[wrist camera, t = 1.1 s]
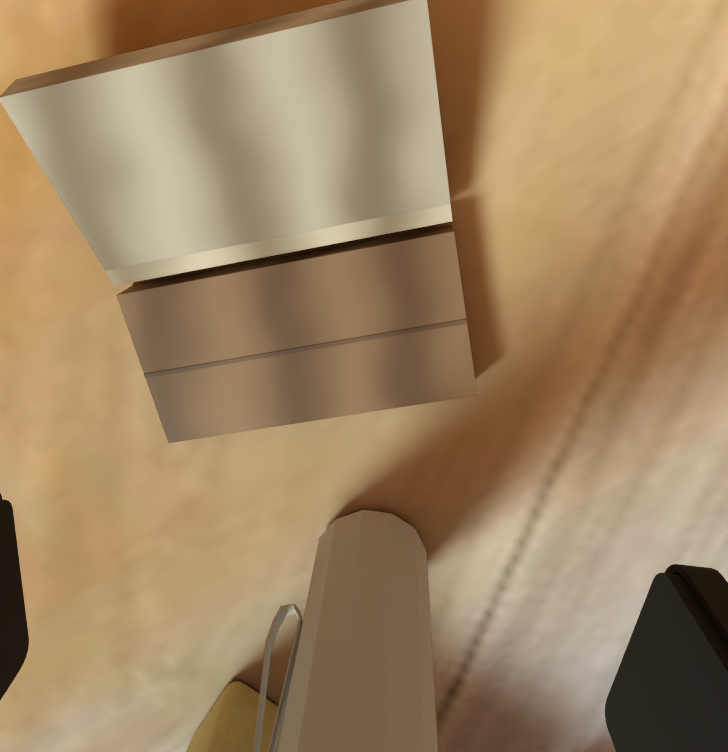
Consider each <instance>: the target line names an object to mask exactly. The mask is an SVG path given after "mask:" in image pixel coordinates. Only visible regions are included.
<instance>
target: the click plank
mask: <svg viewBox="0 0 728 752" xmlns="http://www.w3.org/2000/svg"><path fill="white" fill-rule="evenodd" d="M0 102H1V103H2V105H3V107H4V108H5V110H6V112H7V113H8V115H9V116H10V118H11V120H12V121H13V123H14V124H15V126H16V128H17V129H18V131H19V132H20V134H21V136H22V137H23V139H24V141H25V142H26V144H27V145H28V147H29V149H30V150H31V152H32V153H33V155H34V157H35V158H36V160H37V161H38V163H39V165H40V166H41V168H42V170H43V171H44V173H45V174H46V176H47V178H48V179H49V181H50V182H51V184H52V186H53V187H54V189H55V190H56V192H57V194H58V195H59V197H60V199H61V200H62V202H63V203H64V205H65V207H66V208H67V210H68V211H69V213H70V215H71V216H72V218H73V219H74V221H75V223H76V224H77V226H78V228H79V229H80V231H81V232H82V234H83V236H84V237H85V239H86V240H87V242H88V244H89V245H90V247H91V248H92V250H93V252H94V253H95V255H96V257H97V258H98V260H99V261H100V263H101V265H102V266H103V268H104V269H105V271H106V273H107V274H108V276H109V278H110V279H111V281H112V282H113V284H114V286H116V285H121V284H127V283H132V282H137V281H142V280H148V279H153V278H158V277H163V276H169V275H174V274H179V273H184V272H189V271H195V270H200V269H205V268H210V267H216V266H221V265H226V264H231V263H237V262H242V261H247V260H252V259H258V258H263V257H268V256H273V255H278V254H284V253H289V252H294V251H299V250H305V249H310V248H315V247H320V246H326V245H331V244H336V243H341V242H347V241H352V240H357V239H362V238H368V237H373V236H378V235H383V234H388V233H394V232H399V231H404V230H409V229H415V228H420V227H425V226H430V225H436V224H441V223H446V222H451V221H452V212H451V204H450V195H449V186H448V178H447V169H446V160H445V152H444V143H443V134H442V126H441V117H440V108H439V100H438V91H437V82H436V74H435V65H434V56H433V48H432V39H431V30H430V22H429V13H428V4H427V0H344V1H340V2H336V3H332V4H328V5H324V6H320V7H315V8H311V9H307V10H303V11H299V12H295V13H291V14H286V15H282V16H278V17H274V18H270V19H266V20H261V21H257V22H253V23H249V24H245V25H241V26H237V27H232V28H228V29H224V30H220V31H216V32H212V33H207V34H203V35H199V36H195V37H191V38H187V39H183V40H178V41H174V42H170V43H166V44H162V45H158V46H153V47H149V48H145V49H141V50H137V51H133V52H129V53H124V54H120V55H116V56H112V57H108V58H104V59H99V60H95V61H91V62H87V63H83V64H79V65H75V66H70V67H66V68H62V69H58V70H54V71H50V72H46V73H41V74H37V75H33V76H29V77H25V78H21V79H16V80H15V81H14V82H13V83H12V84H11V85H10V86H9V87H8V88H7V89H6V90H5V91H4V92H3V93H2V95H1V96H0Z"/></svg>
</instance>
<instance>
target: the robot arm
mask: <svg viewBox="0 0 728 752" xmlns="http://www.w3.org/2000/svg"><path fill="white" fill-rule="evenodd" d="M28 645H29V637H28V629H27V621H26V613H25V605H24V597H23V589H22V581H21V573H20V565H19V557H18V548H17V540H16V532H15V524H14V516H13V509H12V505H11V503H10V502H9V501H7V500H2V496H1V494H0V700H1V698H2V697H3V695H4V694H5V692H6V691H7V689H8V687H9V686H10V684H11V683H12V681H13V680H14V678H15V677H16V675H17V673H18V672H19V670H20V669H21V667H22V665H23V663H24V660H25V658H26V655H27V651H28ZM605 718H606V724H607V728H608V731H609V733H610V736H611V739H612V741H613V744H614V747H615V749H616V752H728V583H727V581H726V580H725V579H724V577H723V576H722V575H721V574H720V573H719V572H718V571H717V570H715V569H712V568H705V567H696V566H687V565H678V564H675V565H671V566H670V567H668V568H667V570H666V571H665V573H659V574H657V575H656V576H655V578H654V580H653V582H652V584H651V587H650V590H649V592H648V595H647V597H646V600H645V602H644V605H643V608H642V610H641V613H640V615H639V618H638V620H637V623H636V625H635V628H634V631H633V633H632V636H631V638H630V641H629V643H628V646H627V649H626V651H625V654H624V656H623V659H622V661H621V664H620V667H619V669H618V672H617V674H616V677H615V679H614V682H613V685H612V687H611V690H610V692H609V695H608V697H607V700H606V705H605Z"/></svg>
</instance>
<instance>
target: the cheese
mask: <svg viewBox="0 0 728 752" xmlns="http://www.w3.org/2000/svg"><path fill="white" fill-rule="evenodd" d="M259 695H260V694H259V693H258V692H256V691H255V690H253V689H252V688H250V687H249V686H247V685H246V684H244V683H242V682H239V681H235V682H232V683H231V684H229V685H228V686H227V687H226V689H225V690H224V691H223V692H222V694H221V695H220V696H219V698H218V699H217V701H216V702H215V704H214V706H213V707H212V709H211V710H210V712H209V713H208V715H207V716H206V718H205V719H204V721H203V722H202V724H201V725H200V727H199V728H198V730H197V732H196V733H195V735H194V736H193V738H192V740H191V742H190V744H189V746H188V748H187V751H186V752H253V746H254V738H255V729H256V721H257V712H258V704H259ZM277 709H278V706H277V705H275V704H274V703H272V702H271V701H269V700H268V699H266V701H265V709H264V718H263V727H262V735H261V744H260V752H268V748H269V744H270V739H271V735H272V731H273V726H274V722H275V718H276V714H277ZM284 716H285V713H284ZM283 721H284V717H283ZM282 726H283V722H282ZM282 726H281V730H280V734H279V739H278V743H277V747H276V751H275V752H277V751H278V746H279V741H280V736H281V731H282Z"/></svg>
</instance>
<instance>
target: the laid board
mask: <svg viewBox="0 0 728 752" xmlns="http://www.w3.org/2000/svg"><path fill="white" fill-rule="evenodd" d="M116 296H117V299H118V301H119V304H120V307H121V310H122V313H123V316H124V318H125V321H126V324H127V327H128V330H129V332H130V335H131V338H132V341H133V344H134V347H135V349H136V352H137V355H138V358H139V361H140V364H141V366H142V369H143V372H144V376H145V378H146V380H147V383H148V386H149V389H150V392H151V395H152V397H153V400H154V403H155V406H156V409H157V412H158V414H159V417H160V420H161V423H162V426H163V428H164V431H165V434H166V437H167V440H168V443H172V442H178V441H185V440H191V439H198V438H204V437H211V436H217V435H224V434H230V433H237V432H243V431H249V430H256V429H262V428H269V427H275V426H282V425H288V424H295V423H301V422H307V421H314V420H320V419H327V418H333V417H340V416H346V415H353V414H359V413H365V412H372V411H378V410H385V409H391V408H398V407H404V406H411V405H417V404H423V403H430V402H436V401H443V400H449V399H456V398H462V397H469V396H475V395H477V389H476V382H475V375H474V368H473V361H472V354H471V346H470V339H469V332H468V325H467V318H466V311H465V304H464V297H463V290H462V283H461V276H460V269H459V262H458V255H457V248H456V241H455V234H454V230H453V228H452V226H451V225H450V226H445V227H440V228H434V229H429V230H424V231H419V232H413V233H408V234H403V235H398V236H392V237H387V238H382V239H377V240H371V241H366V242H361V243H356V244H350V245H345V246H340V247H335V248H329V249H324V250H319V251H313V252H308V253H303V254H298V255H292V256H287V257H282V258H277V259H271V260H266V261H261V262H256V263H250V264H245V265H240V266H235V267H229V268H224V269H219V270H214V271H208V272H203V273H198V274H193V275H187V276H182V277H177V278H172V279H166V280H161V281H156V282H151V283H145V284H140V285H135V286H131V287H129V288H128V289H126V290H124V291H123V292H121V293H119V294H118V295H116Z"/></svg>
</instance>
